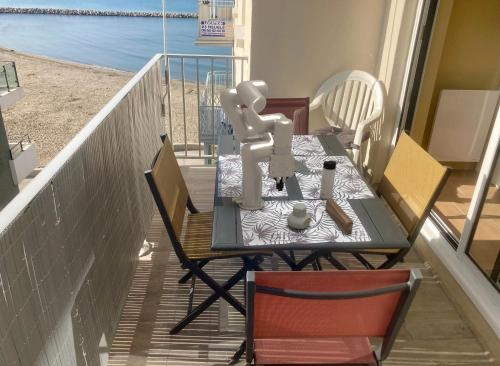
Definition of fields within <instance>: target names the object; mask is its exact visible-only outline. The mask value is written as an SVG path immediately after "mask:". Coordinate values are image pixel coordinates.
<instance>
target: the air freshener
mask: <svg viewBox="0 0 500 366" xmlns="http://www.w3.org/2000/svg"><path fill="white" fill-rule="evenodd" d="M307 211H308V207H307V205H306V204H305V203H302V202H297V203H294V204H293V208H292V211H291V212H290V213H288V216H287V217H286V223H287V224H288V225H289V226H290V227H291V228H293V229H297V230H302V229H306V228H307V227H308V226H310V224H311V222H312V216H311V215H310V214H308V213H307Z"/></svg>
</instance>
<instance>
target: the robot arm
mask: <svg viewBox="0 0 500 366" xmlns="http://www.w3.org/2000/svg"><path fill="white" fill-rule="evenodd" d="M268 93H269V87H268V84H267V83H266V81H264V80H262V79H252V80H251V79H250V80H243V81H241V82H239V83H238V84H237V85H236V86H231V87H227V88H225V89H222V90H221V92H220V94H219V95H220V96H219V101H220V102H219V103H220V106H221V108H222V111H223V113H224V114H225V116H226V117H227V119H228V120H229V122H230V124H231V126H232V129H233V131H234V134H235V137H236V138H237V141H238V142H239V143H241V144H244V145H243V146H241V149H240V160H241V166H242V169H241V172H242V173H241V175H242V176H241V177H242V178H241V194H240V195H239V196H237V197H236V196H235V197H231V200H232V202H235V204H238V206H239V207H240V208H242V209H244V210H247V211H258V210H262V209H263V208H264V207H265V201H264V199H262V197H263V196H262V195H263V194H262V192H263V169H262V168H261V166H260V165H259V164H260V163H262V162H263V163H264V162H268V167H267V168H268V169H267V170H268V171H267V178H268V179H269V180H274V181H275V189H276V190H277V191H278V192H283V191H284V190H283V189H284V188H285V183H286V181H287V180H288V179H289V178H292V177H294V174H295V172H294V159H295V157H294V156H295V155H294V152H293V151H292V146H293V132H294V130H293V129H294V122H293V119H290V118H287V117H286V116H285V114H283V113H281V112H276V113H269V114H261V115H259V114H260V113H262V111H263V110H264V109H265V108H266V105H267V99H266V98H267V96H268ZM241 105H245V106H246V108H247V110H246V112H245V110H243V109H242V108H241V107H239V106H241ZM272 133H273V134H272Z"/></svg>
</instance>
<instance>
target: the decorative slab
mask: <svg viewBox="0 0 500 366" xmlns="http://www.w3.org/2000/svg"><path fill="white" fill-rule="evenodd" d="M294 173H298V174H300V175H302V176H303V175H304V176H310V175H315V173H314V172H312V171H311V170H310V169H309V167H308V166H307V165H306V164H304V163H303V162H301V161H299V160H298V159H296V158H294Z"/></svg>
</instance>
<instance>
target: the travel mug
mask: <svg viewBox="0 0 500 366" xmlns="http://www.w3.org/2000/svg"><path fill="white" fill-rule="evenodd" d="M322 163H323V165H322V173H321V179H320V181H321V183H320V191H319V199H321V200H324V201H326V199H331V198H333V195H334V194H333V193H334V192H333V191H334V188H335V187H334V186H335V185H334V184H335V178H336V171H337V161H335V160H325V161H324V160H323V162H322Z"/></svg>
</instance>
